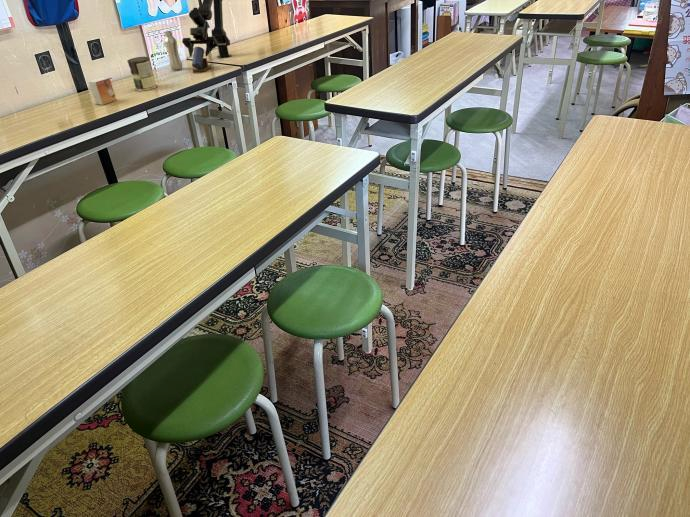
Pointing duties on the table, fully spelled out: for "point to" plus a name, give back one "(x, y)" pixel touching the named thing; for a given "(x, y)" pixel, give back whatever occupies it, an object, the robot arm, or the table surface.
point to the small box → (102, 90)
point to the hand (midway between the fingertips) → (198, 56)
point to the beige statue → (172, 51)
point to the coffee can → (142, 73)
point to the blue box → (198, 57)
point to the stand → (203, 66)
